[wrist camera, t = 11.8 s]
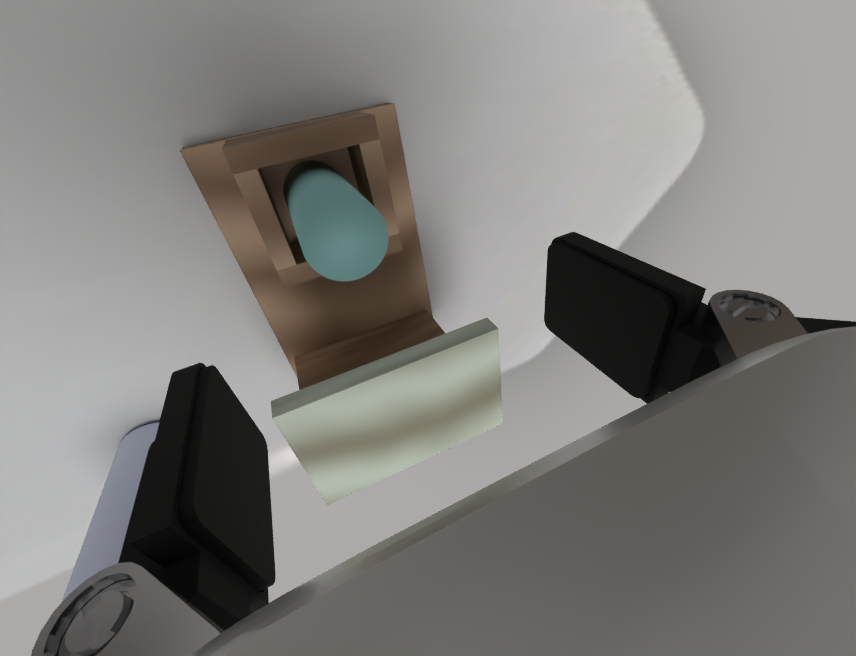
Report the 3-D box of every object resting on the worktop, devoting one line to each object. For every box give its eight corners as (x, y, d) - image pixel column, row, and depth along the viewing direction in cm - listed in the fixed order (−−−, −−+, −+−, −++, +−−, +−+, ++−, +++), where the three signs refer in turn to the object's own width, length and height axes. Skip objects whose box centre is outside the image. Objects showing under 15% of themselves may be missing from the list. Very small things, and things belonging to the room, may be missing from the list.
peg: (273, 168, 23) (286, 209, 15) (335, 153, 23) (377, 184, 16) (296, 229, 25) (318, 292, 17) (352, 213, 26) (396, 266, 18)
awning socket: (183, 147, 22) (115, 206, 11) (387, 102, 24) (500, 112, 14) (295, 366, 32) (319, 508, 21) (428, 317, 35) (509, 420, 24)
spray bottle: (128, 476, 31) (-14, 930, 14) (111, 425, 28) (-93, 918, 12) (208, 461, 34) (168, 834, 17) (200, 413, 31) (142, 804, 14)
